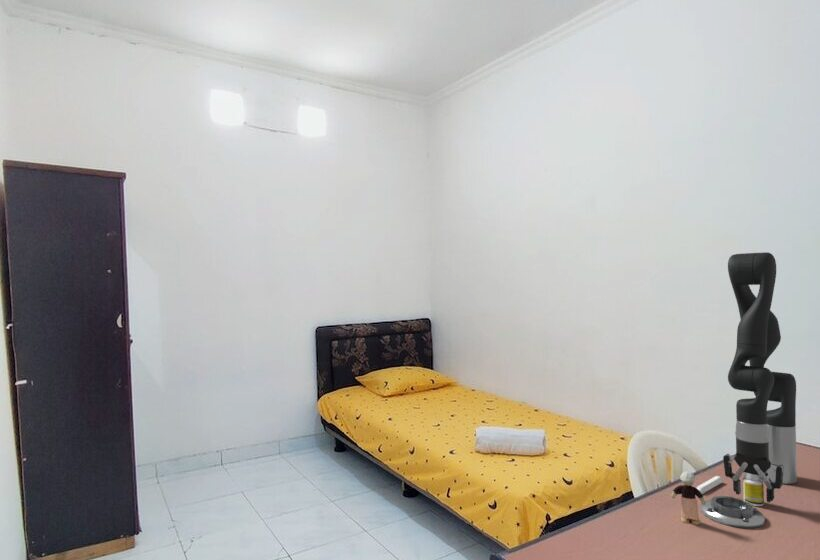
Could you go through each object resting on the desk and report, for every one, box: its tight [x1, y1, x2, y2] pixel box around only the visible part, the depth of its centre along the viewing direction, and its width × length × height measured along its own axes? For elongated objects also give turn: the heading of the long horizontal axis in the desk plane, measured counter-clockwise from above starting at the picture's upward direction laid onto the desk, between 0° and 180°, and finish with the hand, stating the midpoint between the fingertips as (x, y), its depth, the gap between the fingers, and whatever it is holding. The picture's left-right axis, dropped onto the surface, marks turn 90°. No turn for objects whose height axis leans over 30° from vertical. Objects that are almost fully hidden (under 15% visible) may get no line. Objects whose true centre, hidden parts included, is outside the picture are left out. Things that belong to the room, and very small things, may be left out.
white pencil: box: [696, 475, 724, 495], centre depth 147 cm, size 3×2×16 cm
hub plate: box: [700, 495, 765, 529], centre depth 130 cm, size 14×14×3 cm
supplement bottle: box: [742, 472, 765, 507], centre depth 137 cm, size 5×5×8 cm
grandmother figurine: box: [670, 470, 706, 525], centre depth 127 cm, size 8×4×13 cm, turn 71°
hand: (753, 497), depth 137 cm, fingers open, 6 cm apart
